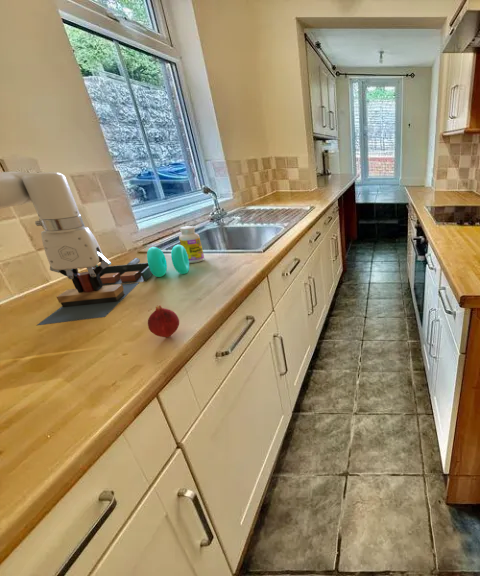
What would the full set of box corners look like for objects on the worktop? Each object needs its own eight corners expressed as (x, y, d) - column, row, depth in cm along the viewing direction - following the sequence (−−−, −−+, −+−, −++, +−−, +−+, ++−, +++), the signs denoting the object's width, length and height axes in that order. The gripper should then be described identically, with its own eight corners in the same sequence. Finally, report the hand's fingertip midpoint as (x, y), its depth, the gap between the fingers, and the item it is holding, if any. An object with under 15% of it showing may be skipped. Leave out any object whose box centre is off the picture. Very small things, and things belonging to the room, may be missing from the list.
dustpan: (145, 282, 102) (142, 272, 101) (81, 288, 98) (77, 278, 96) (165, 262, 120) (162, 253, 119) (111, 266, 115) (108, 258, 114)
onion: (188, 334, 74) (179, 303, 70) (161, 346, 69) (150, 314, 66) (174, 327, 76) (165, 297, 73) (148, 339, 72) (136, 307, 68)
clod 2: (121, 282, 101) (119, 276, 101) (127, 277, 105) (125, 271, 104) (136, 280, 102) (134, 275, 102) (141, 276, 106) (139, 270, 105)
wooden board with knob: (61, 307, 85) (47, 279, 82) (72, 300, 90) (60, 272, 86) (117, 301, 89) (107, 274, 85) (125, 294, 93) (115, 268, 90)
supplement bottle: (191, 264, 117) (182, 230, 112) (181, 261, 121) (172, 228, 115) (208, 259, 123) (200, 226, 117) (198, 256, 126) (190, 224, 121)
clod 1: (100, 284, 100) (98, 278, 99) (107, 279, 104) (104, 273, 103) (115, 282, 101) (113, 276, 100) (121, 278, 105) (119, 272, 104)
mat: (36, 326, 77) (36, 325, 77) (87, 288, 98) (86, 287, 97) (105, 317, 81) (105, 316, 81) (140, 283, 101) (139, 282, 101)
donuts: (187, 277, 106) (179, 248, 102) (152, 281, 102) (142, 252, 98) (191, 267, 114) (184, 240, 110) (159, 271, 111) (150, 244, 107)
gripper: (12, 229, 75) (45, 299, 82) (94, 224, 79) (119, 291, 87) (33, 223, 82) (62, 288, 89) (108, 219, 86) (130, 281, 93)
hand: (90, 289), depth 88 cm, fingers closed on wooden board with knob, 2 cm apart
